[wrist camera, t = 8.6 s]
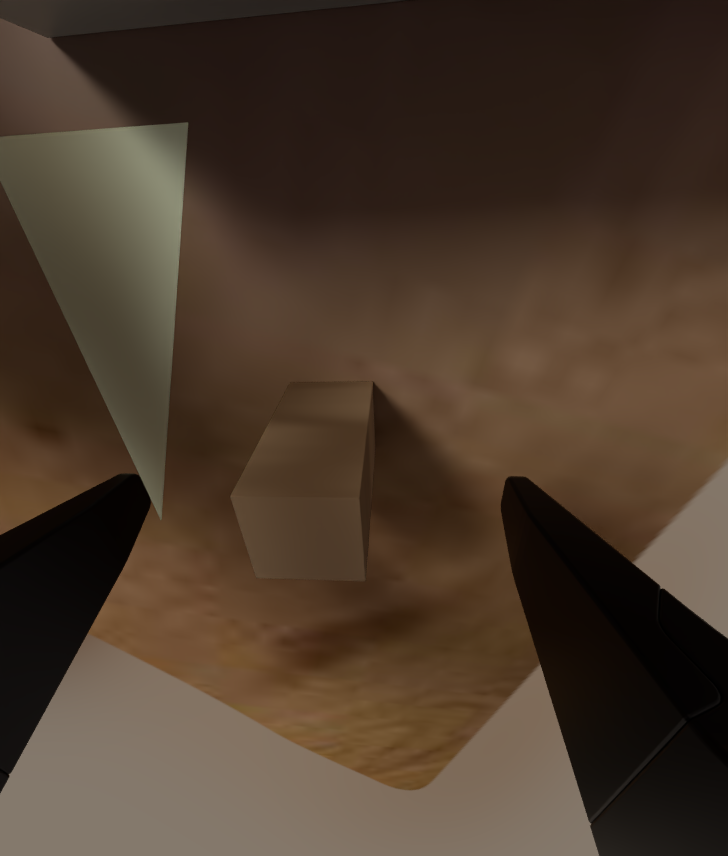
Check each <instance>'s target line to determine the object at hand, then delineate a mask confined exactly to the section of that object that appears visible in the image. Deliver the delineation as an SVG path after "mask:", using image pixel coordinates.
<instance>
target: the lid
mask: <svg viewBox="0 0 728 856" xmlns="http://www.w3.org/2000/svg"><path fill="white" fill-rule="evenodd" d="M187 134H188V122H185V123H172V124H159V125H146V126H133V127H120V128H107V129H94V130H81V131H67V132H54V133H41V134H28V135H15V136H2V137H0V182H1V184H2V186H3V188H4V190H5V192H6V194H7V196H8V199H9V201H10V203H11V205H12V207H13V209H14V211H15V213H16V215H17V218H18V220H19V222H20V224H21V226H22V228H23V230H24V232H25V234H26V237H27V239H28V241H29V243H30V245H31V247H32V249H33V251H34V253H35V256H36V258H37V260H38V262H39V264H40V266H41V268H42V270H43V272H44V274H45V277H46V279H47V281H48V283H49V285H50V287H51V289H52V291H53V293H54V296H55V298H56V300H57V302H58V304H59V306H60V308H61V310H62V312H63V315H64V317H65V319H66V321H67V323H68V325H69V327H70V329H71V331H72V334H73V336H74V338H75V340H76V342H77V344H78V346H79V348H80V350H81V353H82V355H83V357H84V359H85V361H86V363H87V365H88V367H89V369H90V372H91V374H92V376H93V378H94V380H95V382H96V384H97V386H98V388H99V391H100V393H101V395H102V397H103V399H104V401H105V403H106V405H107V407H108V410H109V412H110V414H111V416H112V418H113V420H114V422H115V424H116V426H117V429H118V431H119V433H120V435H121V437H122V439H123V441H124V443H125V445H126V447H127V450H128V452H129V454H130V456H131V458H132V460H133V462H134V464H135V466H136V469H137V471H138V473H139V475H140V477H141V479H142V481H143V483H144V485H145V487H146V489H147V492H148V494H149V496H150V498H151V500H152V502H153V504H154V507H155V509H156V511H157V513H158V515H159V517H160V519H162V504H163V489H164V474H165V459H166V444H167V430H168V415H169V400H170V385H171V371H172V356H173V341H174V327H175V312H176V297H177V282H178V267H179V252H180V238H181V223H182V208H183V193H184V179H185V164H186V149H187ZM375 450H376V449H375V425H374V401H373V381H356V382H290V384H289V386H288V387H287V389H286V391H285V393H284V395H283V397H282V399H281V401H280V403H279V405H278V406H277V408H276V410H275V412H274V414H273V416H272V418H271V420H270V422H269V423H268V425H267V427H266V429H265V431H264V433H263V435H262V437H261V439H260V440H259V442H258V444H257V446H256V448H255V450H254V452H253V454H252V456H251V458H250V459H249V461H248V463H247V465H246V467H245V469H244V471H243V473H242V475H241V476H240V478H239V480H238V482H237V484H236V486H235V488H234V490H233V492H232V493H231V495H230V498H231V501H232V504H233V507H234V510H235V514H236V517H237V520H238V523H239V526H240V529H241V532H242V535H243V538H244V541H245V545H246V548H247V551H248V554H249V557H250V560H251V563H252V566H253V569H254V573H255V576H256V578H270V579H303V580H336V581H366V570H367V557H368V543H369V530H370V517H371V503H372V490H373V477H374V463H375Z"/></svg>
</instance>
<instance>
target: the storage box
mask: <svg viewBox="0 0 728 856" xmlns="http://www.w3.org/2000/svg"><path fill="white" fill-rule="evenodd" d="M397 1H407V0H0V18H2V19H4V20H6V21H9V22H11V23H14V24H16V25H18V26H21V27H23V28H26V29H28V30H30V31H33V32H35V33H38V34H40V35H42V36H45V37H47V38H51V37H60V36H70V35H79V34H89V33H99V32H108V31H118V30H128V29H137V28H147V27H156V26H166V25H176V24H185V23H195V22H204V21H214V20H224V19H233V18H243V17H253V16H262V15H272V14H281V13H291V12H301V11H310V10H320V9H330V8H339V7H349V6H358V5H368V4H378V3H387V2H397Z"/></svg>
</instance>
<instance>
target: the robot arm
mask: <svg viewBox="0 0 728 856" xmlns="http://www.w3.org/2000/svg"><path fill="white" fill-rule="evenodd" d="M150 505H151V499H150V496H149V494H148V492H147V489H146V487H145V485H144V483H143V481H142V479H141V477H140V476H139V475H137V474H119V475H117V476H115V477H113V478H111V479H109V480H107V481H105V482H103V483H101V484H99V485H97V486H95V487H93V488H91V489H89V490H87V491H85V492H83V493H81V494H79V495H78V496H76V497H74V498H72V499H70V500H68V501H66V502H64V503H62V504H60V505H58V506H56V507H54V508H52V509H50V510H48V511H46V512H44V513H42V514H41V515H39V516H37V517H35V518H33V519H31V520H29V521H27V522H25V523H23V524H21V525H19V526H17V527H15V528H13V529H11V530H9V531H7V532H5V533H4V534H2V535H0V793H1V791H2V789H3V787H4V786H5V784H6V782H7V780H8V778H9V774H10V773H11V772H12V770H13V769H14V767H15V765H16V763H17V761H18V759H19V758H20V756H21V754H22V752H23V750H24V748H25V747H26V745H27V743H28V741H29V739H30V737H31V736H32V734H33V732H34V730H35V728H36V726H37V725H38V723H39V721H40V719H41V717H42V716H43V714H44V712H45V710H46V708H47V706H48V705H49V703H50V701H51V699H52V697H53V695H54V694H55V692H56V690H57V688H58V686H59V685H60V683H61V681H62V679H63V677H64V675H65V674H66V672H67V670H68V668H69V666H70V665H71V663H72V661H73V659H74V657H75V655H76V654H77V652H78V650H79V648H80V646H81V644H82V643H83V641H84V639H85V637H86V635H87V633H88V632H89V630H90V628H91V626H92V624H93V623H94V621H95V619H96V617H97V615H98V613H99V612H100V610H101V608H102V606H103V604H104V602H105V601H106V599H107V597H108V595H109V593H110V591H111V590H112V588H113V586H114V584H115V582H116V581H117V579H118V577H119V575H120V573H121V571H122V570H123V568H124V566H125V564H126V562H127V560H128V557H129V555H130V553H131V551H132V548H133V546H134V544H135V541H136V539H137V537H138V534H139V532H140V530H141V527H142V525H143V523H144V520H145V518H146V516H147V513H148V511H149V508H150ZM501 514H502V519H503V525H504V530H505V536H506V541H507V547H508V552H509V558H510V563H511V568H512V573H513V576H514V580H515V584H516V587H517V590H518V593H519V596H520V600H521V603H522V606H523V609H524V613H525V616H526V619H527V622H528V626H529V629H530V632H531V635H532V639H533V642H534V645H535V648H536V652H537V655H538V658H539V661H540V664H541V668H542V671H543V674H544V677H545V681H546V684H547V687H548V690H549V694H550V697H551V700H552V703H553V707H554V710H555V713H556V716H557V719H558V722H559V726H560V729H561V732H562V735H563V739H564V742H565V745H566V749H567V752H568V755H569V758H570V761H571V765H572V768H573V771H574V775H575V778H576V781H577V784H578V787H579V791H580V794H581V797H582V800H583V804H584V807H585V810H586V813H587V817H588V820H589V822H590V823H591V826H590V827H591V830H592V833H593V837H594V840H595V843H596V847H597V850H598V853H599V856H728V638H726V637H725V636H723V635H722V634H721V633H720V632H718V631H717V630H715V629H714V628H713V627H712V626H710V625H709V624H708V623H707V622H705V621H704V620H703V619H701V618H700V617H699V616H698V615H696V614H695V613H694V612H692V611H691V610H690V609H688V608H687V607H686V606H685V605H683V604H682V603H681V602H680V601H679V600H677V599H676V598H675V597H674V596H672V595H671V594H670V593H669V592H668V591H666V590H665V589H660V585H659V584H657V583H656V582H655V581H653V579H651V578H650V577H649V576H648V575H646V574H645V573H644V572H642V571H641V570H640V569H639V568H638V567H636V566H635V565H634V564H633V563H632V562H630V561H629V560H628V559H627V558H625V557H624V556H623V555H622V554H620V553H619V552H618V551H617V550H616V549H614V548H613V547H612V546H611V545H609V544H608V543H607V542H606V541H604V540H603V539H602V538H601V537H600V536H598V535H597V534H596V533H595V532H593V531H592V530H591V529H590V528H588V527H587V526H586V525H585V524H584V523H582V522H581V521H580V520H579V519H577V518H576V517H575V516H574V515H572V514H571V513H570V512H569V511H567V510H566V509H565V508H564V507H563V506H561V505H560V504H559V503H558V502H556V501H555V500H554V499H553V498H551V497H550V496H549V495H548V494H547V493H545V492H544V491H543V490H542V489H540V488H539V487H538V486H537V485H535V484H534V483H533V482H532V481H531V480H529V479H528V478H526V477H519V476H510V477H508V478H507V479H506V481H505V485H504V490H503V496H502V501H501Z"/></svg>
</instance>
